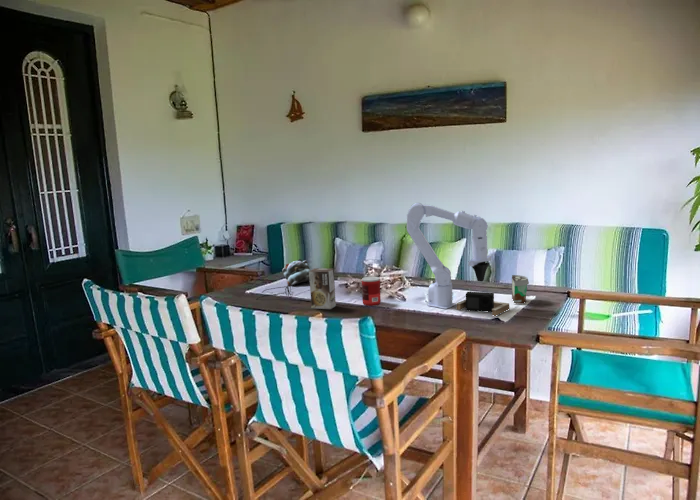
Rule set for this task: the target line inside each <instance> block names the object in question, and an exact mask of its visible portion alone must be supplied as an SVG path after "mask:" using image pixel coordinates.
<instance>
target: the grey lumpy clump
mask: <svg viewBox="0 0 700 500" xmlns="http://www.w3.org/2000/svg"><path fill="white" fill-rule="evenodd" d="M311 270H312V269H311V268H310V266H309V263H308V260H306V259H305V260H303V259H301V258H299V259H297V260H294V261H292V262H290V263H286V265H285V267H283V268H282V270H281V271H282V274H283V276H284V278H285V279H286V282H287V285H288V283H290V287H293V286H294V285H297V284H301V283H305V282H310V278H309V271H311Z"/></svg>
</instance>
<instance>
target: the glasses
mask: <svg viewBox="0 0 700 500" xmlns="http://www.w3.org/2000/svg"><path fill="white" fill-rule="evenodd" d="M291 287H292V286H290V283H288V284H287V286H279V287H277V289H281V288H285V289H284V291H285V292H281V293H275V294H272V296H275V295H276V296H278V295H286V298H288V297H289V294H291V292H292V290H291V289H292V288H291ZM274 289H276V287H273V288H272V287H271V288H267V289H264V290H263V291H262V293H264V292H265V291H269V290H274ZM289 289H290V290H289ZM270 296H271V294H268V295H262V296H259V297H257V298H256V300H259V299H260V298H263V297H270Z"/></svg>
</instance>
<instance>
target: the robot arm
mask: <svg viewBox="0 0 700 500" xmlns="http://www.w3.org/2000/svg"><path fill="white" fill-rule="evenodd" d="M424 216H425V218H428V217H431V216H432V217H433V216H434V217H437V218H441V219H445V220H448V221H452V223H453V225H454V226H457V227H461V228H464V229H466V230H472V236H471V237H472V238H471V239H472V242H471V245H472V258H471V259H470V260H469V261H468V265H467V266H468V267H471V268H472V269H473V271H474V274H475V277H476V281H477V282H484V280H485V276H486V272H487V269H488V267H489V266H490V264H489V262H490V261H492V255H488V234H487V233H488V232H487V230H488V228H489V226H488V222H487V221H486V220H485V219H484V218H483V217H481V216H477V215H476V214H473V215H472V214H470V213H466V211H465V210H461V211H459V210H458V211H456V212H452V211H449V210H446V209H443V208H440V207H438V206H435V205H430V204H426V203H423V204H422V203H421V202H415V203H413V204H412V205H411V206H410V207H409V209H408V212H407V214H406V232H407V233H408V235H409V236H410V237H411V239H412V240H413V243H414V244H415V245H416V247H417V248H418V250H419V252H420V253H421V255H422V256H423V258H424V259H425V261H426V262H427V264H428V266H429V267H430V269H431V272H432V274H433V276H434V280H435V282H434V283H431V284H430V285H429V286H428V289H427V295H428V297H427V299H428V301H427V303H428V304H427V306H428V307H433V308H437V309H445V310H448V309H450V308H452V307H455V306H457V303H455V302H453V283H452V273H451V270H450V269H449V268H448V267H447V266H445V265H444V263H443V262H442V260H441V259H440V258H439V257H438V255H437V254H436V251H434V249H433V247H432V246H431V244H430V243H429V241H428V239H427V238H426V237H425V235H424V233H423V232H422V229H420V225H421V223H422V222H421V221H422V219H423V218H424Z"/></svg>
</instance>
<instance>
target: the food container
mask: <svg viewBox="0 0 700 500" xmlns="http://www.w3.org/2000/svg"><path fill="white" fill-rule="evenodd" d="M529 284H530V282H529V279H528V277H527V276H525V275H519V274H517V275H516V274H511V299H513V300H512V302H513V301H514V302H513V304H514V303H523V304H525V303H526V301H527V289H528V285H529ZM524 302H525V303H524Z"/></svg>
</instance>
